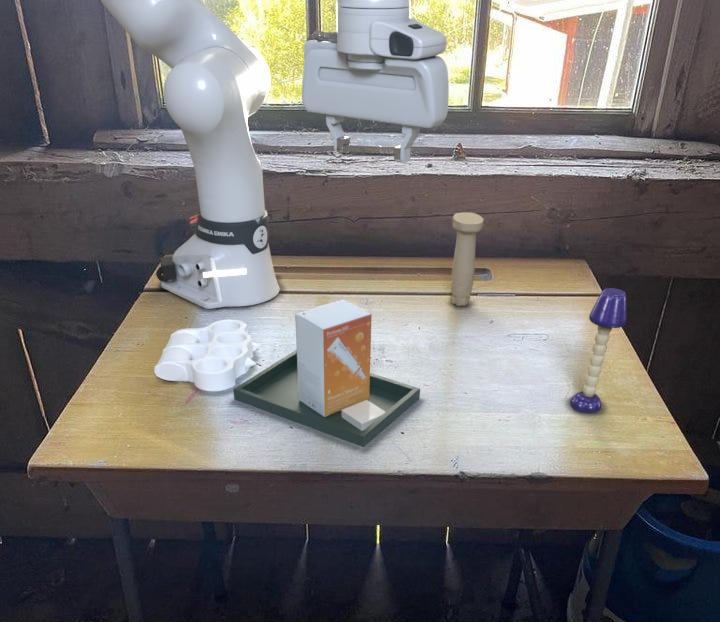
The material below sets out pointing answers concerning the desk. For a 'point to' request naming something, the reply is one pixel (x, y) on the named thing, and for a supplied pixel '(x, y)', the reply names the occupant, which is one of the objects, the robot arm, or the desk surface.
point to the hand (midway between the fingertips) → (371, 156)
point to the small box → (333, 356)
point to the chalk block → (362, 414)
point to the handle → (464, 256)
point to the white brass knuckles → (208, 355)
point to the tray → (281, 398)
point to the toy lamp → (600, 345)
